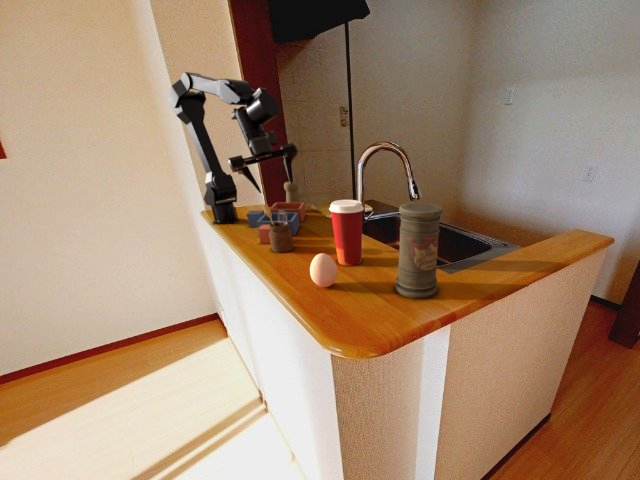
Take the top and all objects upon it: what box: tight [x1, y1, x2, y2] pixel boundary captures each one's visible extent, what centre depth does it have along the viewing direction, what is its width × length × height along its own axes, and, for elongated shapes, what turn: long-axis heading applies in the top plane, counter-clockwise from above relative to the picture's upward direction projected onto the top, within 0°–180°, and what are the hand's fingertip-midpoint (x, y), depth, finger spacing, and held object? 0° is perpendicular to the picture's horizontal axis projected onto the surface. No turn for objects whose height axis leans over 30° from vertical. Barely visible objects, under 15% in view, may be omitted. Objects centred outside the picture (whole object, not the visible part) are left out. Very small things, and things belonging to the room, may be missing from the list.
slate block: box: [246, 210, 265, 228], centre depth 108 cm, size 4×4×4 cm
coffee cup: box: [328, 199, 365, 267], centre depth 79 cm, size 8×8×15 cm
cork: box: [283, 181, 301, 203], centre depth 124 cm, size 6×6×11 cm
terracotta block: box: [257, 225, 271, 245], centre depth 94 cm, size 4×4×4 cm
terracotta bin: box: [269, 201, 307, 223], centre depth 116 cm, size 11×11×5 cm
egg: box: [309, 252, 338, 288], centre depth 69 cm, size 6×6×8 cm
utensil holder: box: [263, 204, 294, 253], centre depth 87 cm, size 6×6×12 cm
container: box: [394, 202, 443, 299], centre depth 66 cm, size 9×9×18 cm
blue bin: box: [257, 212, 301, 237], centre depth 103 cm, size 11×11×5 cm
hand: (276, 188), depth 92 cm, fingers open, 9 cm apart
